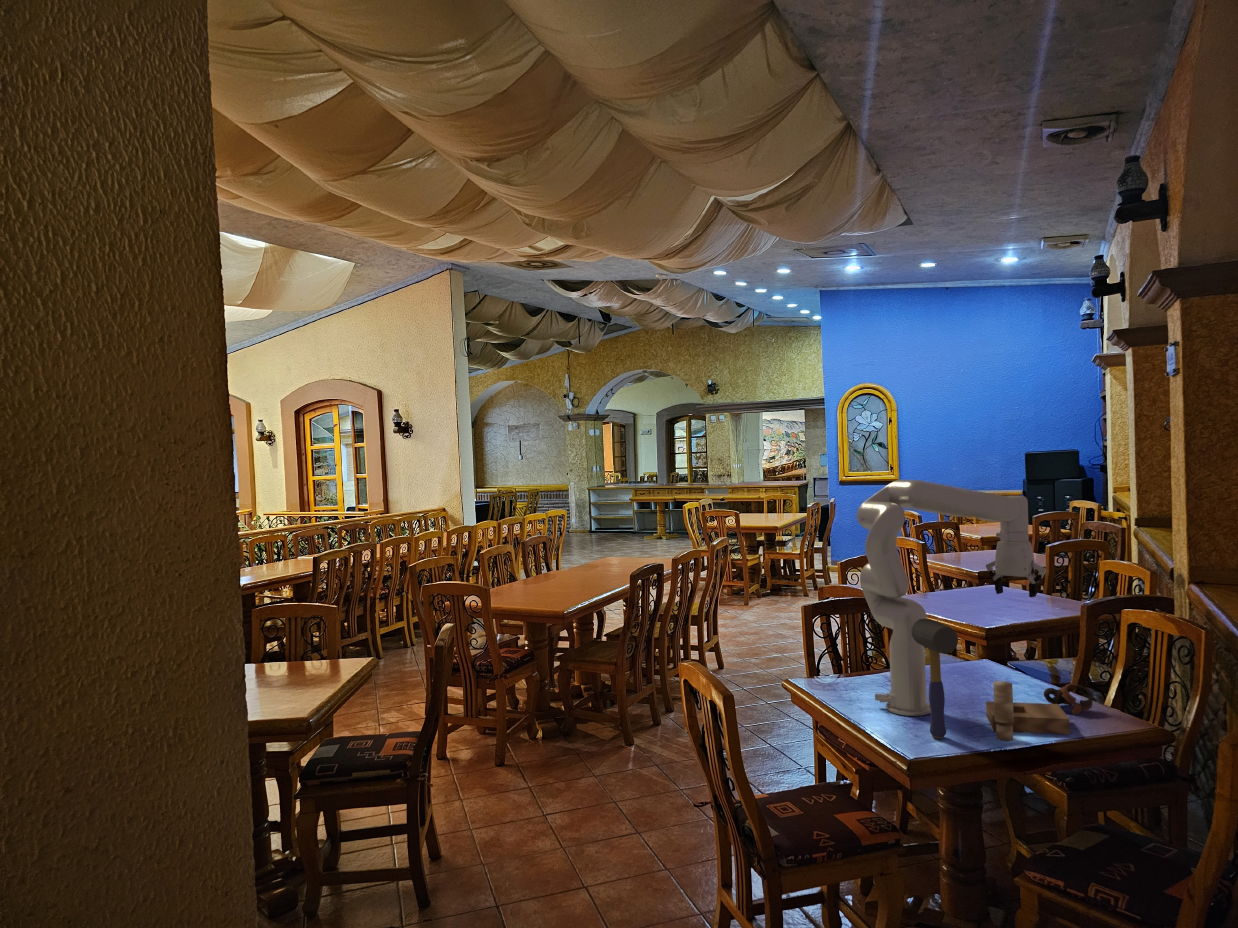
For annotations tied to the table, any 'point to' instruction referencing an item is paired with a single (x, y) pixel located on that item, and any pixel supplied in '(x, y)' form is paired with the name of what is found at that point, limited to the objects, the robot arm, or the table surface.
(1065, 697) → the dark looped piece
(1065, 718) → the board
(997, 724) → the peg
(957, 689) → the table surface
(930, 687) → the rubber mallet
